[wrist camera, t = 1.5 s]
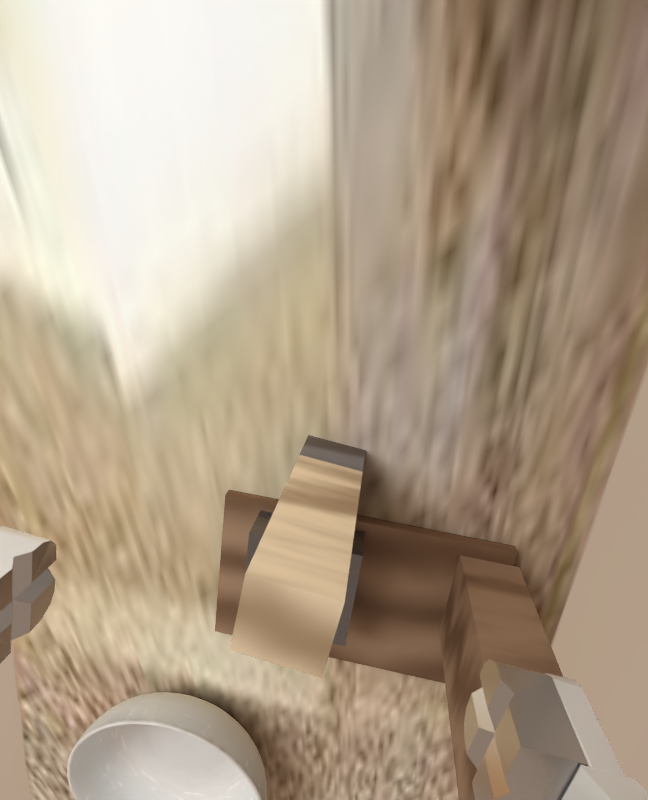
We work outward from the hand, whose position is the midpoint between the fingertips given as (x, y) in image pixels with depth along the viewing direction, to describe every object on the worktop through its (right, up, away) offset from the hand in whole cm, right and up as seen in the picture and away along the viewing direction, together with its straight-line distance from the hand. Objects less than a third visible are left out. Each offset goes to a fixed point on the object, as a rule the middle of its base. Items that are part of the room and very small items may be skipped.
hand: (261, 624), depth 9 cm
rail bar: (+2, -2, +32) cm, 32 cm away
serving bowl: (-14, -34, +45) cm, 58 cm away
